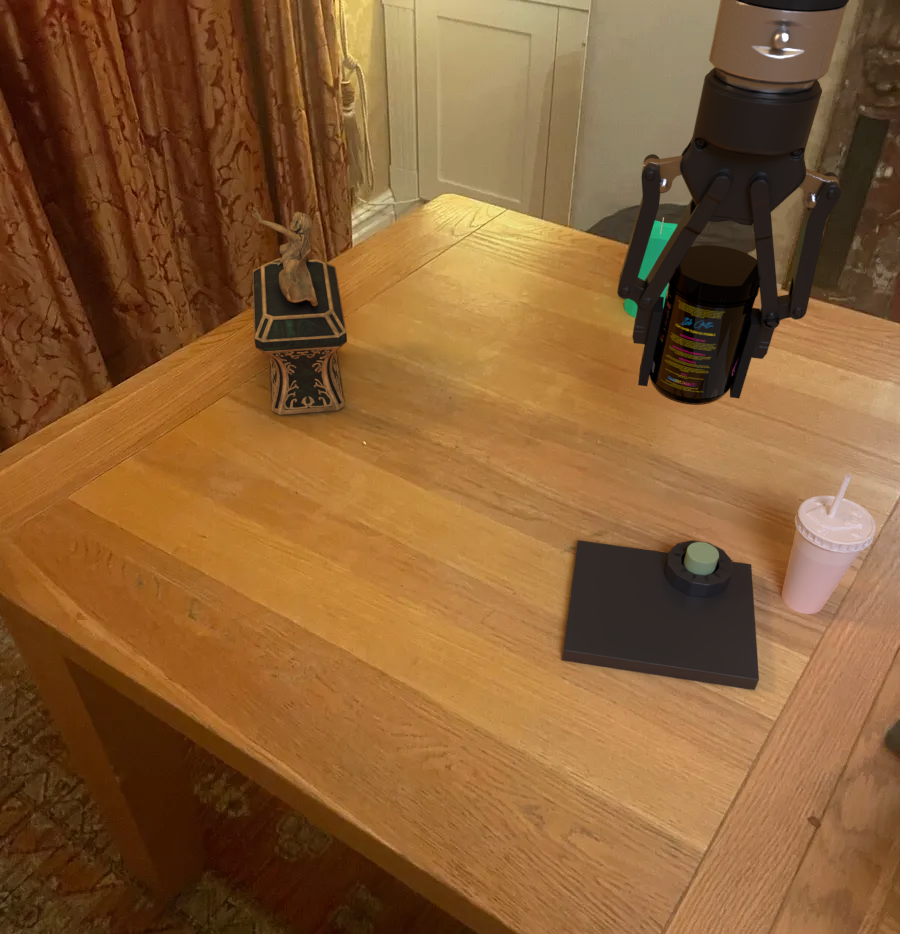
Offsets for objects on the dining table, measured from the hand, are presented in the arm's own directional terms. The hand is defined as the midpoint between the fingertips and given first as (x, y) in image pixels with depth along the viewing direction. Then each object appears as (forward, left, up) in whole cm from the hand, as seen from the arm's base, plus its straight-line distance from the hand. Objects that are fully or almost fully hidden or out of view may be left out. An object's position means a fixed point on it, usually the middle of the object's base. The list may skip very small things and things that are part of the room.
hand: (688, 382), depth 75 cm
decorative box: (+40, -18, -18) cm, 47 cm away
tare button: (-4, +6, -15) cm, 16 cm away
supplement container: (0, 0, -1) cm, 1 cm away
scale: (-1, +10, -17) cm, 20 cm away
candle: (+2, -46, -18) cm, 49 cm away
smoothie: (-14, +5, -18) cm, 23 cm away
